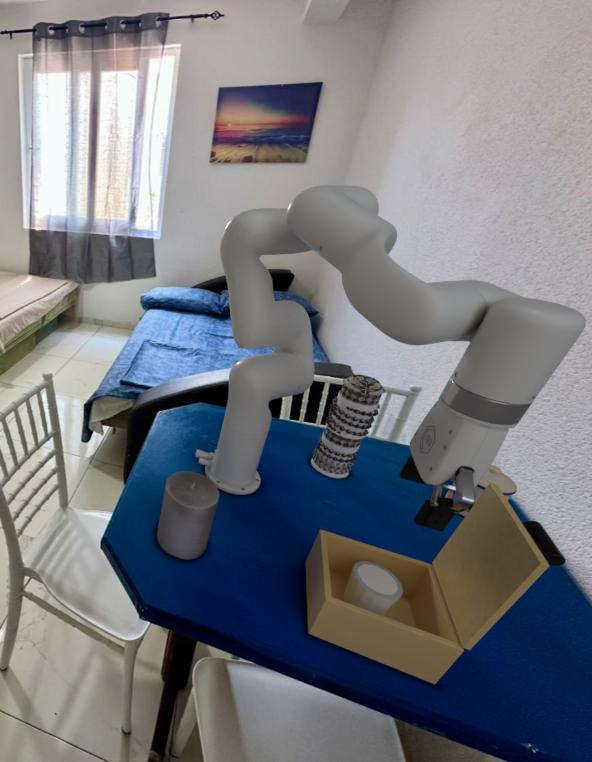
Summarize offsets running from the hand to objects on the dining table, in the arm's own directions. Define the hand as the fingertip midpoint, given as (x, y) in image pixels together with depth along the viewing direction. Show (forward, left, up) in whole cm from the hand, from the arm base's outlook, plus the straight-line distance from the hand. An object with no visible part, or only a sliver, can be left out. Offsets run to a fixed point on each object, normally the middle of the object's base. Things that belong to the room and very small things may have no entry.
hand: (418, 501), depth 58 cm
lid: (+9, -2, -6) cm, 11 cm away
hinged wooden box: (0, -2, -24) cm, 24 cm away
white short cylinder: (0, 0, -24) cm, 24 cm away
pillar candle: (-31, 0, -25) cm, 39 cm away
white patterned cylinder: (-2, +39, -25) cm, 47 cm away
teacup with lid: (+26, +36, -25) cm, 51 cm away
